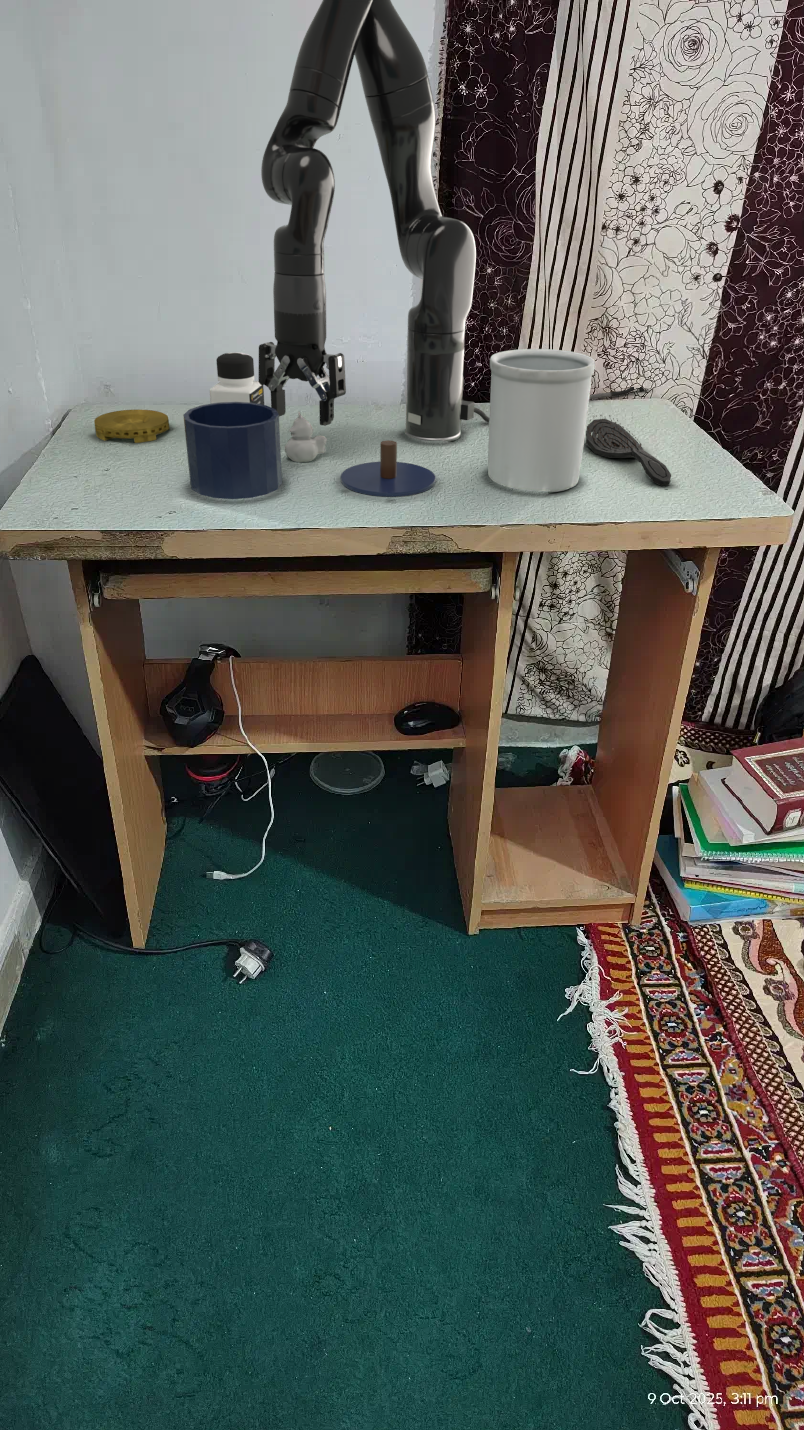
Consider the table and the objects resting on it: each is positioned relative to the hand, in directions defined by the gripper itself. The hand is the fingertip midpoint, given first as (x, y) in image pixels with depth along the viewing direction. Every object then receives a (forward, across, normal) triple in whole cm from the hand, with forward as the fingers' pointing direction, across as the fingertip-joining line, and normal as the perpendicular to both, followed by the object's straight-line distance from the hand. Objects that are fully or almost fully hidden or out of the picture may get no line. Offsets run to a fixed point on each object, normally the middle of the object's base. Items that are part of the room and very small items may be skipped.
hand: (302, 420), depth 150 cm
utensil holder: (+6, -33, -13) cm, 36 cm away
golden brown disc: (+7, +33, +3) cm, 33 cm away
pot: (+7, +2, +15) cm, 16 cm away
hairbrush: (+6, -43, -29) cm, 52 cm away
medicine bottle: (+7, +20, -9) cm, 23 cm away
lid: (+6, -16, +2) cm, 17 cm away
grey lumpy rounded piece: (+7, 0, 0) cm, 7 cm away
